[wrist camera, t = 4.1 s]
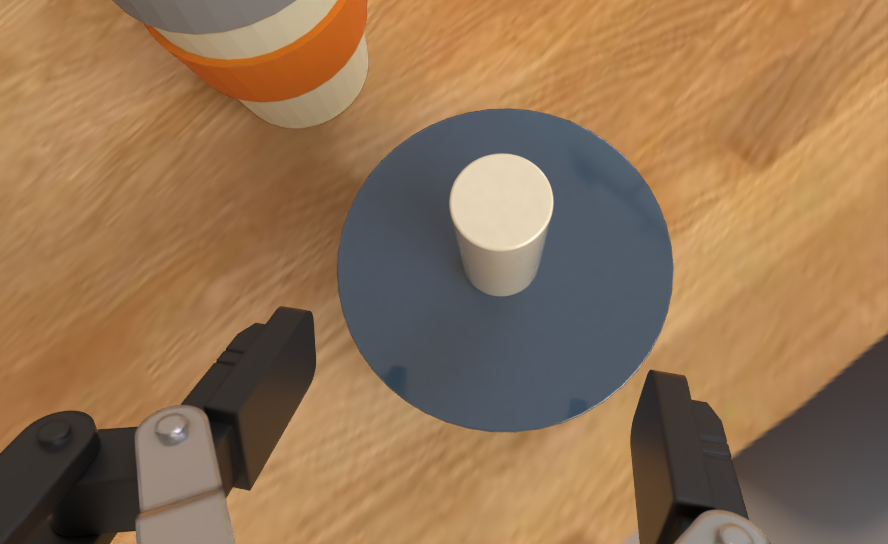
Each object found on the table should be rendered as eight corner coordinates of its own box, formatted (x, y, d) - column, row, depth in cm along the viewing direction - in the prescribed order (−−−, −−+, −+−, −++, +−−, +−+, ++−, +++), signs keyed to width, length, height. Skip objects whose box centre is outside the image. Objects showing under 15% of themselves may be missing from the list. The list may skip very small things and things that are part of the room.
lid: (298, 204, 24) (217, 117, 17) (565, 74, 25) (590, -62, 18) (425, 491, 21) (389, 525, 14) (730, 338, 22) (839, 298, 15)
